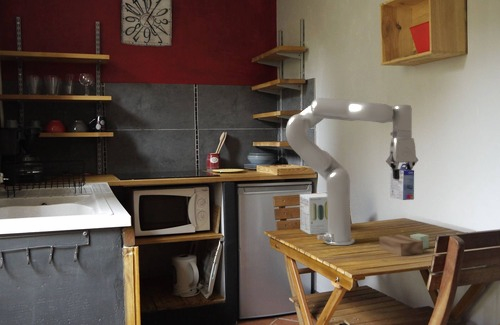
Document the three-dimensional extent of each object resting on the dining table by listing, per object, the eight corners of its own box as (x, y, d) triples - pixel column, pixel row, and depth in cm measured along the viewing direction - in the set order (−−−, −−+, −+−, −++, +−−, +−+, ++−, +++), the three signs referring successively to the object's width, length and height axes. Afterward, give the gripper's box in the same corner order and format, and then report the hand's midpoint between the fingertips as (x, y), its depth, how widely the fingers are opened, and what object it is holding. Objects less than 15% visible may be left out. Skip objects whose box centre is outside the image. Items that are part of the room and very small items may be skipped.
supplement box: (309, 234, 238) (308, 197, 237) (300, 229, 251) (299, 194, 250) (336, 232, 241) (335, 195, 240) (325, 227, 254) (324, 192, 253)
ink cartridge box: (415, 199, 210) (414, 164, 209) (403, 200, 208) (403, 164, 207) (401, 196, 219) (400, 162, 218) (389, 197, 218) (389, 163, 217)
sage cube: (420, 249, 203) (420, 236, 203) (410, 247, 208) (410, 235, 207) (429, 247, 206) (428, 235, 206) (418, 245, 210) (418, 233, 210)
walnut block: (400, 256, 194) (400, 243, 193) (379, 249, 207) (379, 236, 207) (422, 253, 197) (422, 241, 197) (400, 246, 210) (400, 234, 210)
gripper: (389, 135, 206) (389, 180, 207) (425, 134, 211) (425, 178, 212) (379, 135, 213) (379, 179, 214) (414, 134, 218) (414, 177, 220)
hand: (402, 178), depth 213 cm, fingers closed on ink cartridge box, 5 cm apart
